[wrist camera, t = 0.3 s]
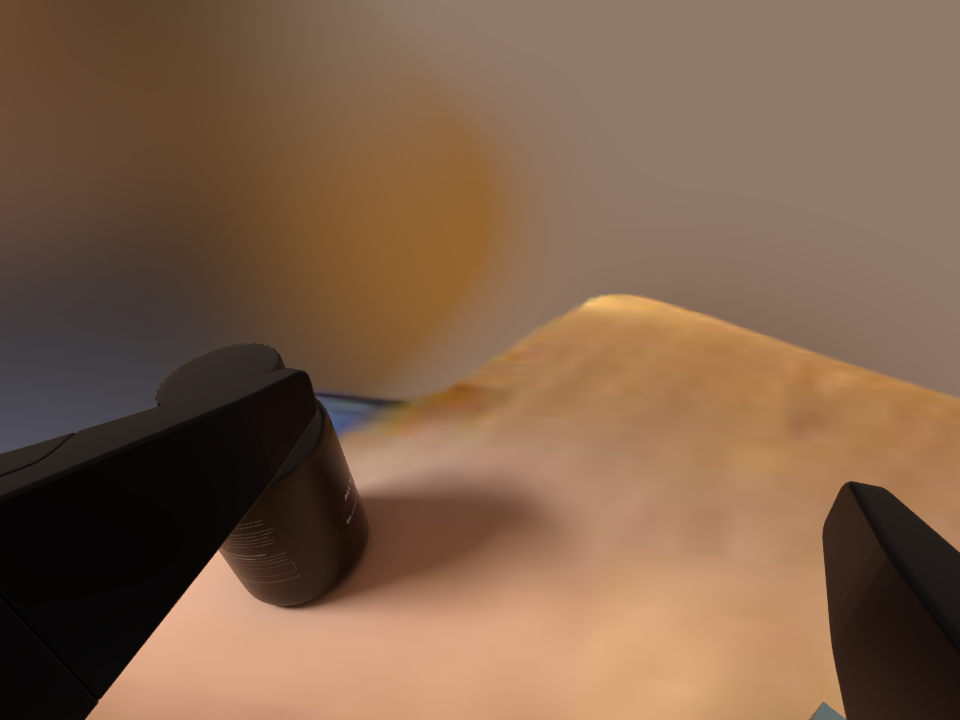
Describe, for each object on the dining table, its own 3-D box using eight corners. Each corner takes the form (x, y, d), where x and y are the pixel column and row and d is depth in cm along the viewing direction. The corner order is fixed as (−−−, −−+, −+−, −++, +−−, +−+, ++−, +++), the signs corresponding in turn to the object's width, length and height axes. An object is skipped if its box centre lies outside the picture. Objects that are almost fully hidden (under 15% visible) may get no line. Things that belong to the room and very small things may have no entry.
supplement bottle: (397, 533, 26) (339, 356, 19) (291, 640, 22) (168, 463, 15) (322, 479, 30) (251, 315, 23) (219, 562, 26) (95, 391, 19)
